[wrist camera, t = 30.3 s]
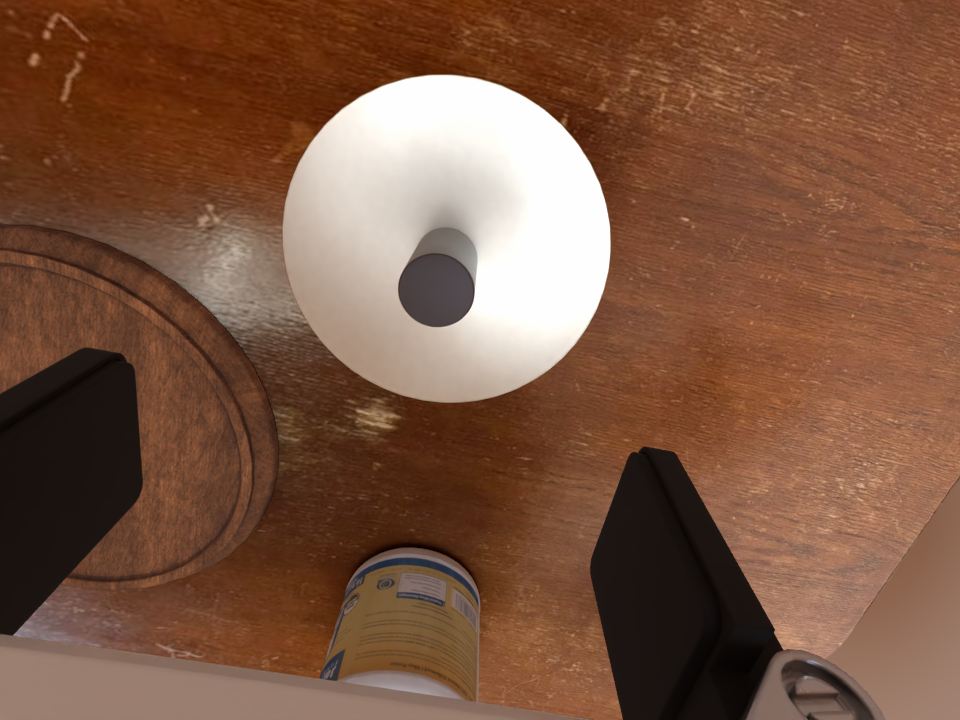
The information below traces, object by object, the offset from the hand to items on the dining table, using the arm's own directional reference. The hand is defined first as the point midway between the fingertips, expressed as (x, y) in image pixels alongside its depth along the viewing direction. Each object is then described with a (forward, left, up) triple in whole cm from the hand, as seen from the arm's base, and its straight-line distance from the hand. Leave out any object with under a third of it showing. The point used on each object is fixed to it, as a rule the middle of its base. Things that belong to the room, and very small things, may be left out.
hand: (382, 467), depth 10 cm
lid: (0, 0, -18) cm, 18 cm away
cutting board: (+22, -27, -28) cm, 45 cm away
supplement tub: (+34, +2, -28) cm, 44 cm away
